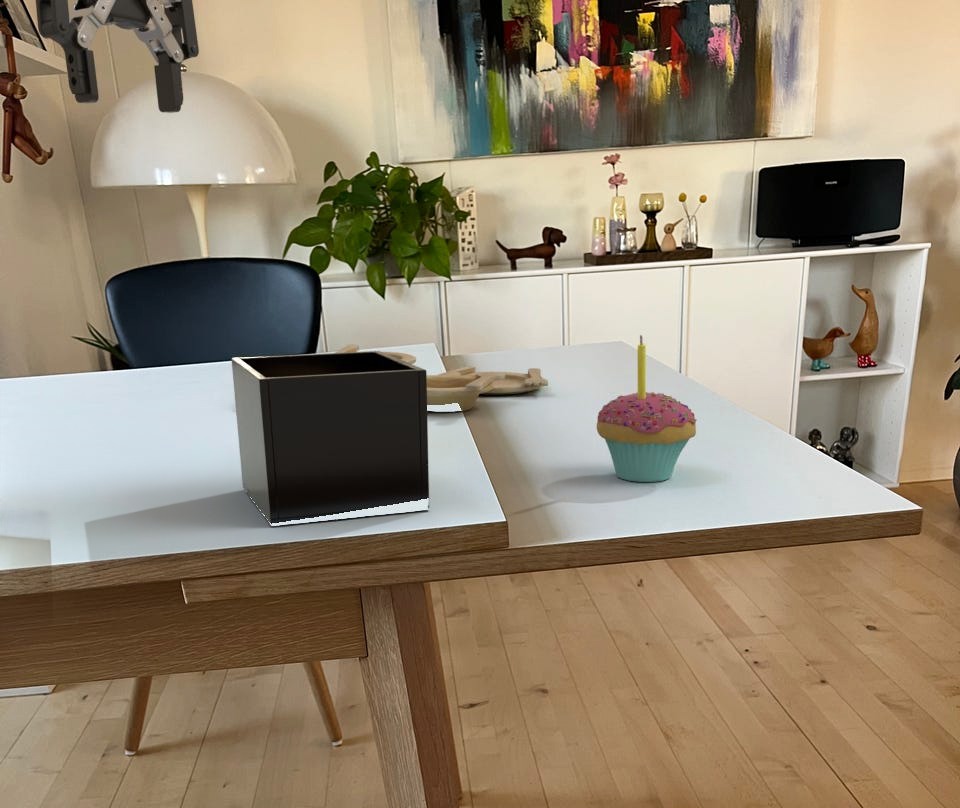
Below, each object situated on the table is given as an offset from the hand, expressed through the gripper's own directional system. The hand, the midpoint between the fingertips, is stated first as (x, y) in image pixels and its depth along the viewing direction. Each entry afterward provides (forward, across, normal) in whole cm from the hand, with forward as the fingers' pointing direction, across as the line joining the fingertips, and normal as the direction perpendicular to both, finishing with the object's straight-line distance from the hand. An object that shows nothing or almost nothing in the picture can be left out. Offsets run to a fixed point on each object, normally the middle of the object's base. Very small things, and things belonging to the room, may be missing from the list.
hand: (130, 107), depth 89 cm
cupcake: (+30, +17, -41) cm, 54 cm away
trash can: (+30, -4, -25) cm, 39 cm away
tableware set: (+29, +39, +3) cm, 49 cm away
